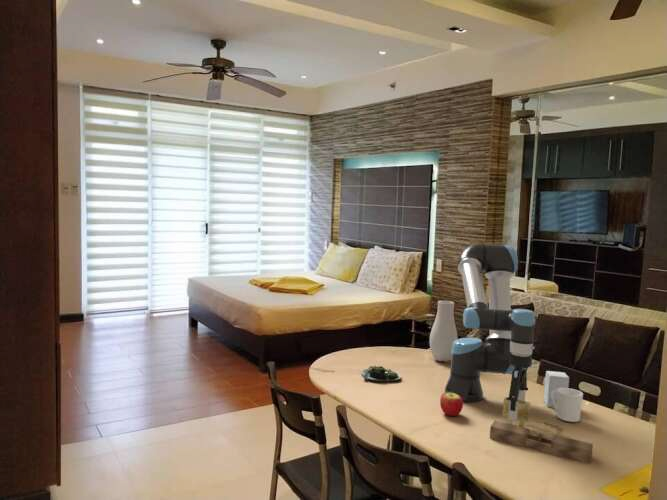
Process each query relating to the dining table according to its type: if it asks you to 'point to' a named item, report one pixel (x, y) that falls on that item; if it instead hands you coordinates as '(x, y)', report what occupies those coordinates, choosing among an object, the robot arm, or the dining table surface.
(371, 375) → the salad plate
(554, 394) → the supplement box
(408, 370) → the dining table surface
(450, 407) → the apple
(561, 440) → the rail
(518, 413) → the beige block
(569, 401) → the mug
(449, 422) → the dining table surface
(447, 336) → the vase
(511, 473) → the dining table surface
